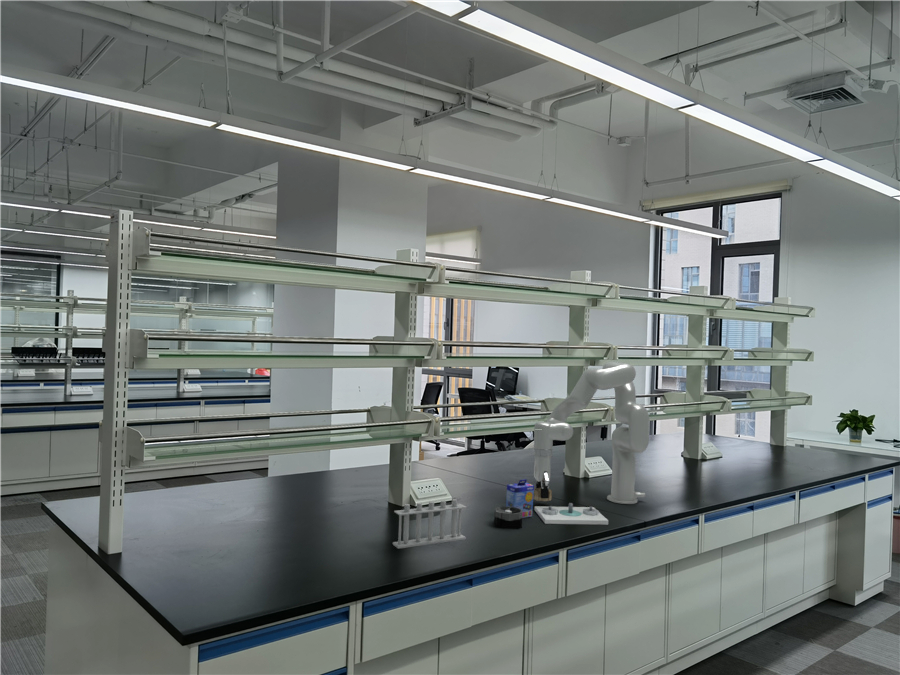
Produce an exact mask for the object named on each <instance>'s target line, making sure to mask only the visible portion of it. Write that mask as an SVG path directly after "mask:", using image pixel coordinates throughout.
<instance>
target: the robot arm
mask: <svg viewBox="0 0 900 675" xmlns="http://www.w3.org/2000/svg"><path fill="white" fill-rule="evenodd" d="M636 373H637V371H636V369H635V367H634V366H633V365H632V364H630V363H625V362H620V361H619V362H617V361H609V362H606V363H604V364H603V366H602V368H595V367H591V368H587V369H585V370H584V371H583V373H582V374H581V376H580V377H579V379H578V380H577V382H576V384H575V385H574V387H573V389H572V390H571V392H570V394H569V395H568V396H567V397H566V398H565V399H563V400H562V401H561V402H560V403H558V405H557V406H555V407H554V409H553V410H552V411H551V413H550V414H549V416H548V418H547V419H546V421H538V422H535V424H534V428H533V429H534V430H533V431H534V432H533V438H534V439H533V457H534V464H533V465H534V466H533V467H534V468H533V477H534V479H535V482H536V483H535V488H541V498H549V489H550V484H549V483H550V481H551V458H552V457H553V450H554V449H553V446H554V445H553V443H554V442H553V441H561V442H562V441H565V442H566V441H568V440H570V439H571V438H573V436H574V428H573V426H572V425H571V424H570V423H568V422H566V420H567V419H568V418H569V417H570V416H572V415H573V414H574V413H578V412H579V411H583V409H586V408H588V405H589V404H590V402H591V401H592V399H593V397H594V396H595V394H596V392H597V391H598V390H600V391H607V390H611V389H614V399H615V400H614V416H615V420H616V421H617V422H618V423H621V424H623V425H628V426H619V427H616V428H615V429H614V430H613V431H612V433H611V437H610V438H611V440H610V441H611V447H612V464H611V465H612V466H611V467H612V468H611V487H610V488H611V490H610V494H608V495H607V497H606V499H607V500H608V501H609V502H611V503H615V504H622V505H634V504H637V503H638V500H639V499H638V498H645V497H646V492H640V491H636V490H635V482H636V454H641V453H644V452H645V451H646V450H647V448H648V446H649V441H650V415H649V412H648V410H647V408H646V407H645V406H644V405H642V404H639V403H637V400H636V399H637V398H636V396H637V395H636V394H637V393H636V386H635V383H634V380H635V378H636V375H637V374H636ZM535 429H542V430H535Z"/></svg>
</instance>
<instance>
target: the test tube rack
mask: <svg viewBox="0 0 900 675" xmlns="http://www.w3.org/2000/svg"><path fill="white" fill-rule="evenodd" d="M403 507H404V508H403V509H400V510H394V511H393V513H395V514H396V515H398V537H397V539H398V540H397V541H393V542H392V545H393V547H394V548H396V549H398V550H400V549H405V548H412V547H421V546H426V545H434V544H441V543H449V542H455V541H456V542H457V541H463V540H466V539H467V538H466V536H465V535H463V534H462V533H461V525H462V510H463V509H467V508H468V507H467V506H466V505H464V504H463V503H458V499H457V498H455V499H454V498H453V499H452V500H451V504H447V501H446V500H443V499H441V500H440V505H438V506H435V502H434V501H429V502H428V506H427V507H423V503H421V502H417V503H416V508H411V506H410V503H405V504H404V506H403ZM446 511H451V519H450V520H451V524H450V534H445V531H446V530H445V528H446ZM435 512H439V530H438V531H439V535H437V536H433V535H434V516H435ZM425 513H426V514H427V513H428V514H427V515H428V518H427V537H422V516H423V514H425ZM410 515H416V516H415V539H414V538H413V539H410V538H409V536H410V534H409V532H410ZM457 518H458V519H457ZM402 520H403V521H402ZM457 520H458V526H457ZM402 522H403V534H402ZM421 537H422V538H421Z"/></svg>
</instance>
